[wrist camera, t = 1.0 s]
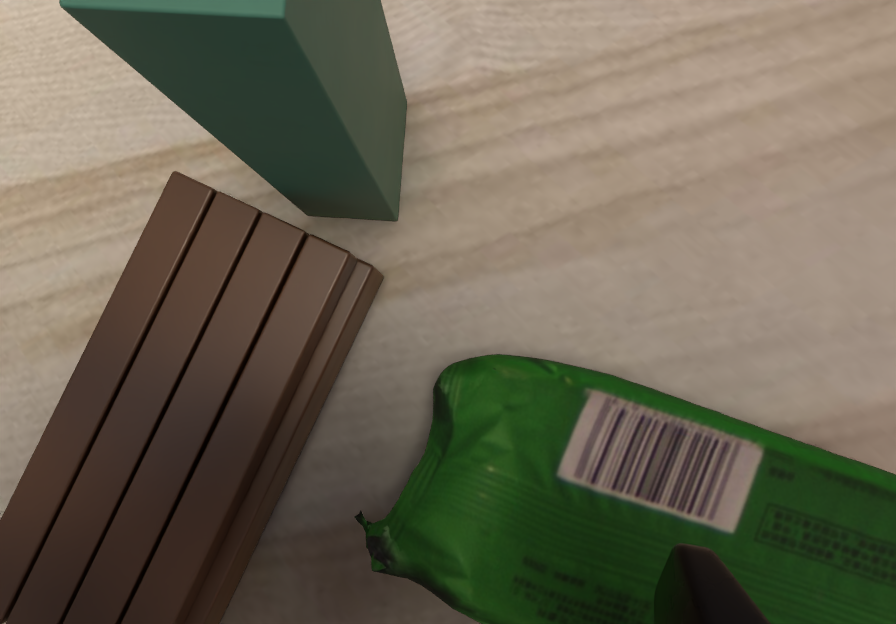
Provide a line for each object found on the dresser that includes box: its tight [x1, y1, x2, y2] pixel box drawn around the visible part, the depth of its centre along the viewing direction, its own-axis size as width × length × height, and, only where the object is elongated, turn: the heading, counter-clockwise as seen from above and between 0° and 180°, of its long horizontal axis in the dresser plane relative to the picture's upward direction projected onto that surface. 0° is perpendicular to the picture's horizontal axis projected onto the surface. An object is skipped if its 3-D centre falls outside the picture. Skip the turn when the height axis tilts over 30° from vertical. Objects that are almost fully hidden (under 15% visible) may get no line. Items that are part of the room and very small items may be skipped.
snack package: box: [354, 354, 896, 624], centre depth 18 cm, size 7×16×5 cm, turn 71°
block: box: [59, 0, 407, 221], centre depth 15 cm, size 4×3×13 cm
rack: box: [0, 171, 383, 624], centre depth 20 cm, size 13×6×4 cm, turn 155°
